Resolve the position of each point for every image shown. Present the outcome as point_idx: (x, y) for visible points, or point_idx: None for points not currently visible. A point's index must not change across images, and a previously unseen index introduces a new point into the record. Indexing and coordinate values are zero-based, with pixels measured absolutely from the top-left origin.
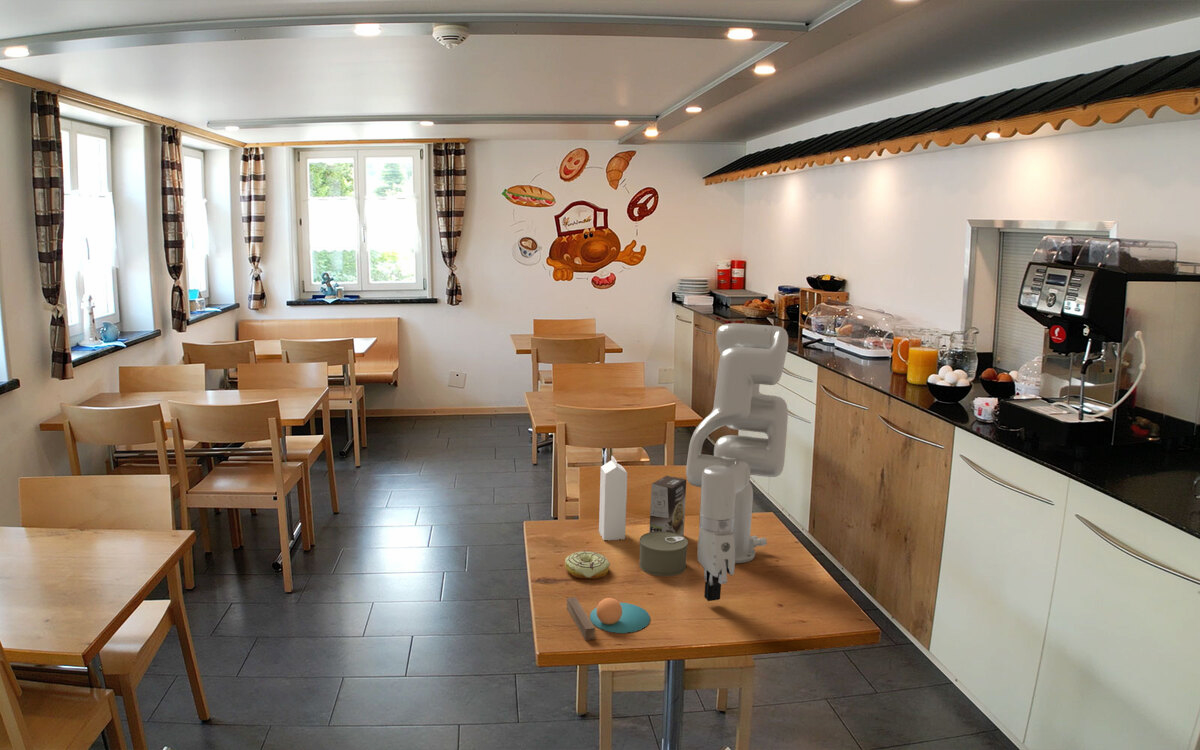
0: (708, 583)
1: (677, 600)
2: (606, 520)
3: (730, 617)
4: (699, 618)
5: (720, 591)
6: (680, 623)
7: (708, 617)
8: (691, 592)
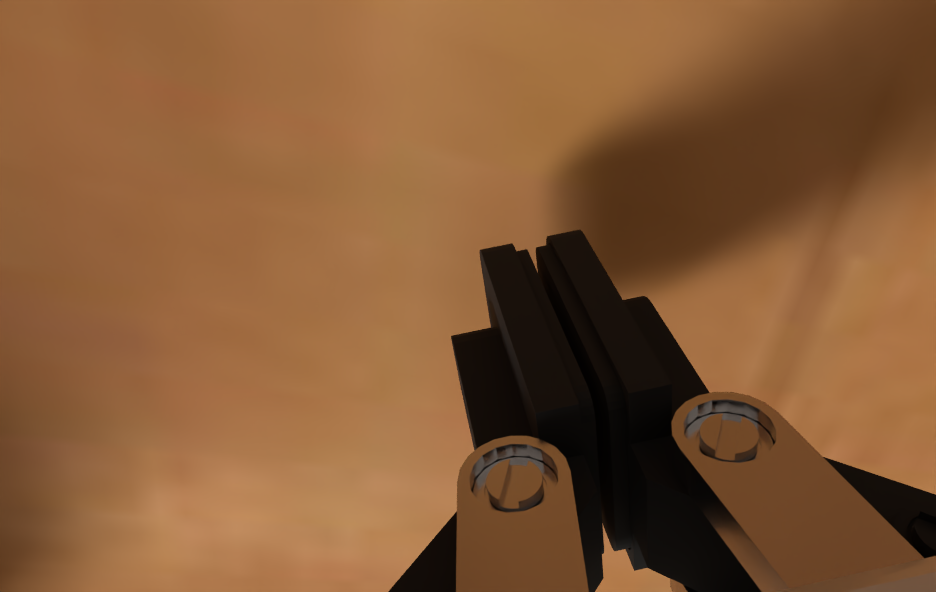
0: (602, 542)
1: (376, 545)
2: None
3: (857, 128)
4: None
5: (614, 289)
6: None
7: (766, 349)
8: (183, 420)
